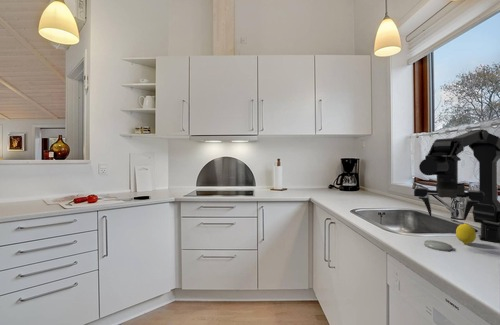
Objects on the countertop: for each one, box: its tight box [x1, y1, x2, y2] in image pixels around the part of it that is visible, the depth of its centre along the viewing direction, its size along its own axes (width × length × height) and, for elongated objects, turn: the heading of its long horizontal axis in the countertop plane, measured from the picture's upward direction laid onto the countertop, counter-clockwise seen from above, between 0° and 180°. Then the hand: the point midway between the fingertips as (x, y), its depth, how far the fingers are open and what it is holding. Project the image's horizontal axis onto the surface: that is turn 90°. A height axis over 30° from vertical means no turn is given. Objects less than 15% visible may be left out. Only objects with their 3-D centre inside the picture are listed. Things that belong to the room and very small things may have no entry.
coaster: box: [423, 239, 453, 252], centre depth 86 cm, size 8×8×1 cm
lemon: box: [455, 222, 477, 245], centre depth 88 cm, size 6×6×8 cm
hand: (446, 217), depth 83 cm, fingers open, 9 cm apart
